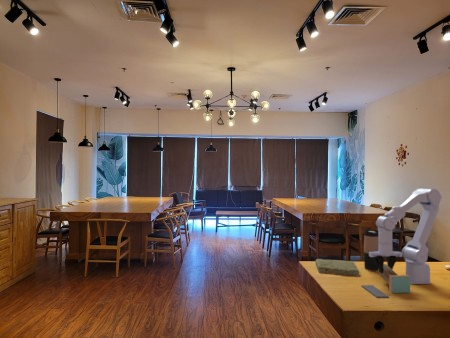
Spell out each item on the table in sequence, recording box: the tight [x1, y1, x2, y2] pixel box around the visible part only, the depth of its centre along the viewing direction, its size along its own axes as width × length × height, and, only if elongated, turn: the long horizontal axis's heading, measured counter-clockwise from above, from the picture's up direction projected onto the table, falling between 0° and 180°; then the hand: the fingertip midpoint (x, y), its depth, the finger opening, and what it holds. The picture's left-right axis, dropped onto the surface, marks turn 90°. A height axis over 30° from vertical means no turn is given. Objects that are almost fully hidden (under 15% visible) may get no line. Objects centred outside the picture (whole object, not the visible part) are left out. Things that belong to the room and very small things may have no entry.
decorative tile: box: [315, 258, 360, 277], centre depth 169 cm, size 19×20×4 cm
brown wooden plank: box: [377, 263, 398, 285], centre depth 145 cm, size 4×12×4 cm, turn 3°
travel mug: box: [363, 229, 379, 272], centre depth 171 cm, size 8×8×20 cm
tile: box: [388, 274, 411, 294], centre depth 137 cm, size 8×2×7 cm, turn 93°
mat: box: [361, 284, 389, 299], centre depth 138 cm, size 5×13×1 cm, turn 3°
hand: (385, 272), depth 148 cm, fingers closed on brown wooden plank, 3 cm apart
